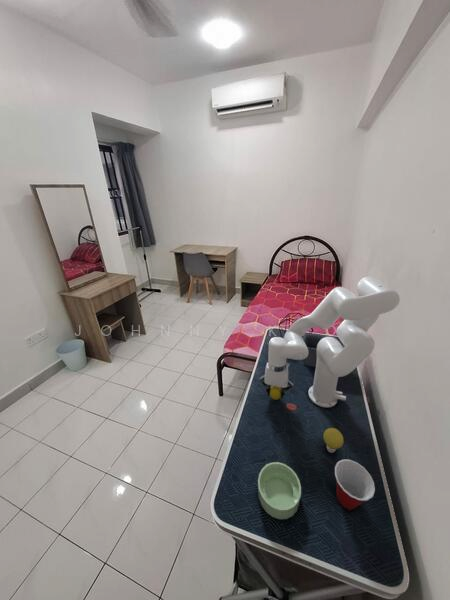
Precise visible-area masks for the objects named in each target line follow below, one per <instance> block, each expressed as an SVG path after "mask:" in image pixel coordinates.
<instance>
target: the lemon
mask: <svg viewBox="0 0 450 600" xmlns="http://www.w3.org/2000/svg"><path fill="white" fill-rule="evenodd" d="M281 392H282V388H281V387H277V386H272V385H270V391H269V396H270V398H271V399H272V400H275V401H277V400H280V399H281Z"/></svg>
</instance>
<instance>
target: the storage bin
mask: <svg viewBox="0 0 450 600" xmlns="http://www.w3.org/2000/svg"><path fill="white" fill-rule="evenodd" d="M325 337H330V336H328V335H324V334H323V335H322V334H317V333H310V332H308V333H307V332H306V333H305V334H304V335H303V336H302V338H303V340H304V342H305V344H306V346H307V348H308V352H309V353H308V356H307V357H306V358H305V359H304V365H305V366H308V367H313V368H316V362H317V345H318V343H319V341H320V340H321V339H322V338H325ZM332 337H333V338H335V339H336V340H338V341H339V342H340V344H341V345H342V346H343V348H344V347H345V346H344V345H343V343H342V342H341V341H340V339H339V338H338V337H335V336H332Z"/></svg>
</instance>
